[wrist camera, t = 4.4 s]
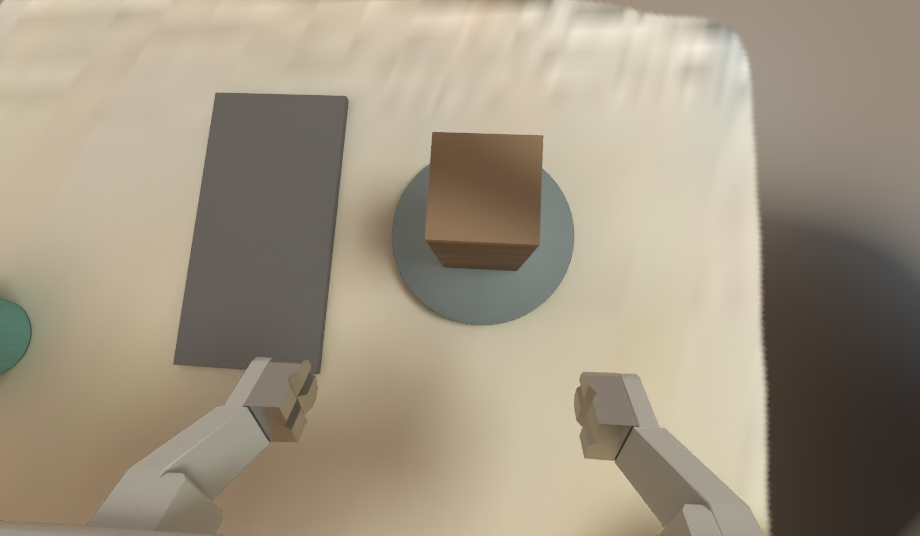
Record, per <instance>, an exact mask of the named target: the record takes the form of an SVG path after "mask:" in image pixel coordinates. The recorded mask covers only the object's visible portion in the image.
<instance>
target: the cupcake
mask: <svg viewBox="0 0 920 536" xmlns="http://www.w3.org/2000/svg"><path fill="white" fill-rule="evenodd" d="M30 336H31V327H30V322H29V319H28V317H27V315H26V313H25V312H24V311H23V309H22V308H20V307H19V306H18V305H16V304H14V303H12V302H10V301H6V300H2V299H0V373H2V372H4V371H6V370H8V369H10V368H11V367H13V366H14V365H15V364H16V363H17V362H18V361H19V360H20V359H21V358H22V356H23V355H24V353H25V351H26V349H27V347H28V345H29V341H30Z"/></svg>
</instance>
